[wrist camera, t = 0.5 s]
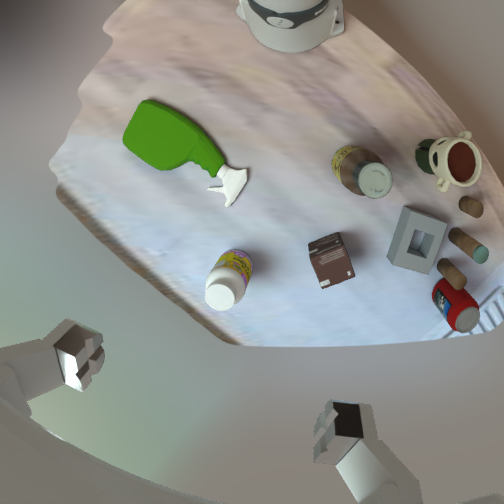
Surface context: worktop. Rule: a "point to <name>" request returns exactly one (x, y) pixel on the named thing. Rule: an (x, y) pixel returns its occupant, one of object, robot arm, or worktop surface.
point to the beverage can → (456, 306)
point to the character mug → (451, 160)
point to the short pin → (471, 206)
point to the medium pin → (451, 274)
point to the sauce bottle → (362, 172)
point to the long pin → (469, 245)
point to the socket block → (403, 235)
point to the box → (330, 260)
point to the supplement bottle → (228, 280)
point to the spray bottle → (178, 146)
